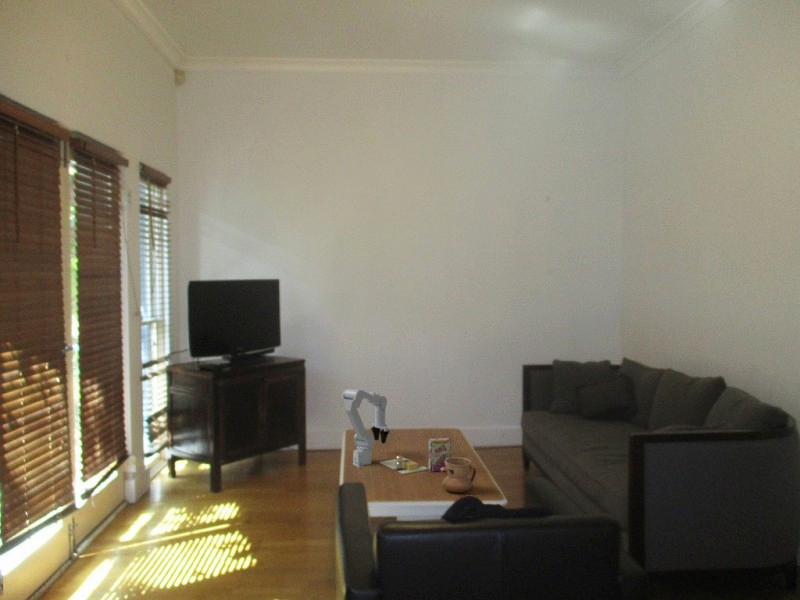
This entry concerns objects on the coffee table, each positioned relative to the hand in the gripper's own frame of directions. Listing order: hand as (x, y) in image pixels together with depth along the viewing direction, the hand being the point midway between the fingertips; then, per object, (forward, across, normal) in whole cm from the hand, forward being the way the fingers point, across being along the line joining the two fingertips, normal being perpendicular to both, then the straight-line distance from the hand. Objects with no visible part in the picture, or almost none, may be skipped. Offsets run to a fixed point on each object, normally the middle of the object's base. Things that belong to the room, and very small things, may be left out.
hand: (380, 441), depth 375 cm
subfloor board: (+9, -21, -2) cm, 23 cm away
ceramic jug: (+10, -66, -5) cm, 67 cm away
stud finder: (+8, -26, -2) cm, 27 cm away
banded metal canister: (+8, -26, +4) cm, 28 cm away
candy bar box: (+10, -36, -15) cm, 40 cm away
